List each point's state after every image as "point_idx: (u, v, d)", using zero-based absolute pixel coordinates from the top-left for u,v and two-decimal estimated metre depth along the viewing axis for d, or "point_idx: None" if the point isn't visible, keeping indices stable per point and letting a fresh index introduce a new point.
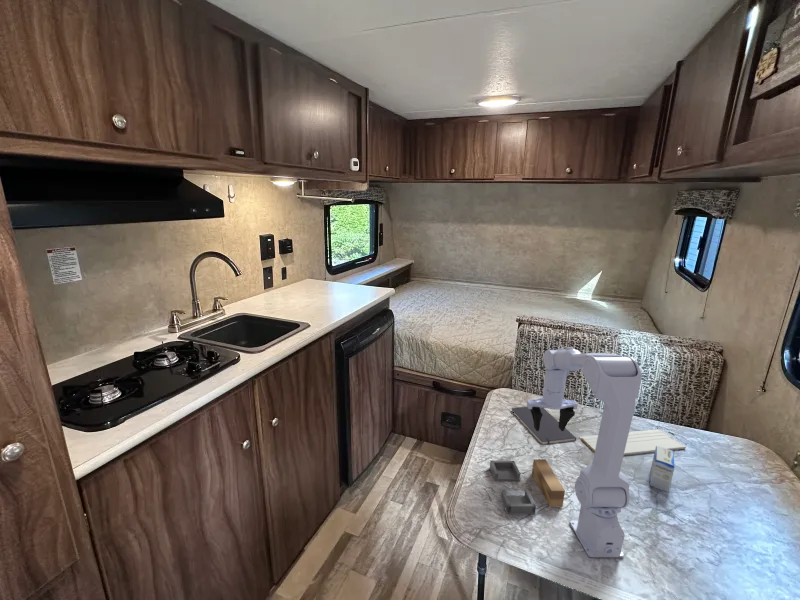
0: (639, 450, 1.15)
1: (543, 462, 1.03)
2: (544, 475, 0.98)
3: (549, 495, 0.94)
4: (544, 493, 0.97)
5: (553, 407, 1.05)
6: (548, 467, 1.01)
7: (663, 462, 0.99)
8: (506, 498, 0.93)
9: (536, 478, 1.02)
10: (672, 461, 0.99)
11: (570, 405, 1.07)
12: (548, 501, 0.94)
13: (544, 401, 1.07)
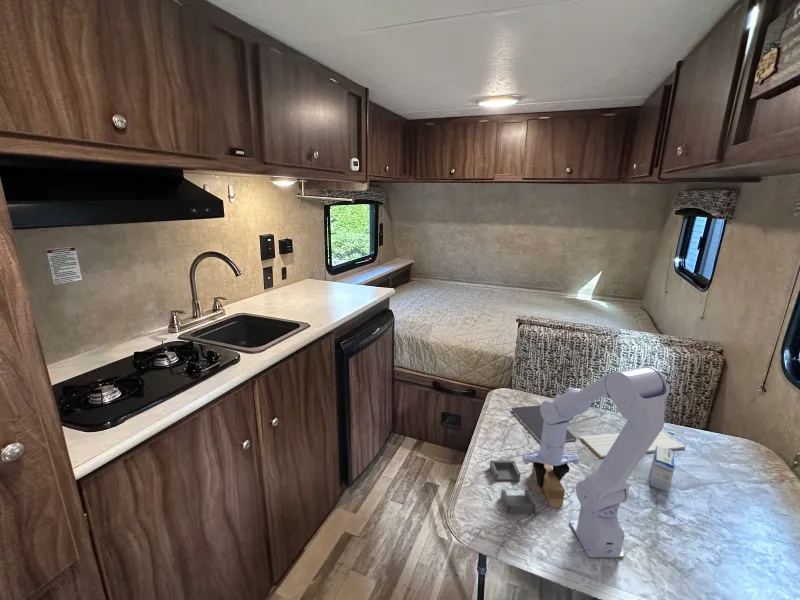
0: None
1: None
2: None
3: (549, 495, 0.94)
4: (544, 492, 0.97)
5: (552, 463, 0.94)
6: (548, 466, 1.01)
7: (663, 462, 0.99)
8: (506, 498, 0.93)
9: (536, 477, 1.02)
10: (672, 461, 0.99)
11: (571, 460, 0.96)
12: (548, 500, 0.94)
13: (542, 455, 0.96)
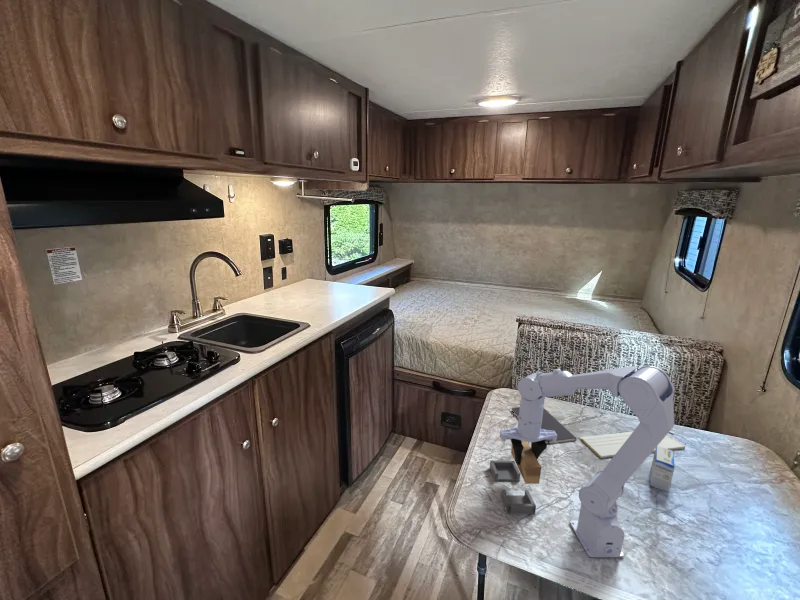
0: None
1: None
2: (522, 452, 0.96)
3: (526, 472, 0.92)
4: (521, 470, 0.95)
5: (529, 439, 0.93)
6: (526, 445, 0.99)
7: (663, 462, 0.99)
8: (506, 498, 0.93)
9: (514, 456, 1.01)
10: (672, 461, 0.99)
11: (548, 437, 0.94)
12: (525, 478, 0.93)
13: (519, 432, 0.95)
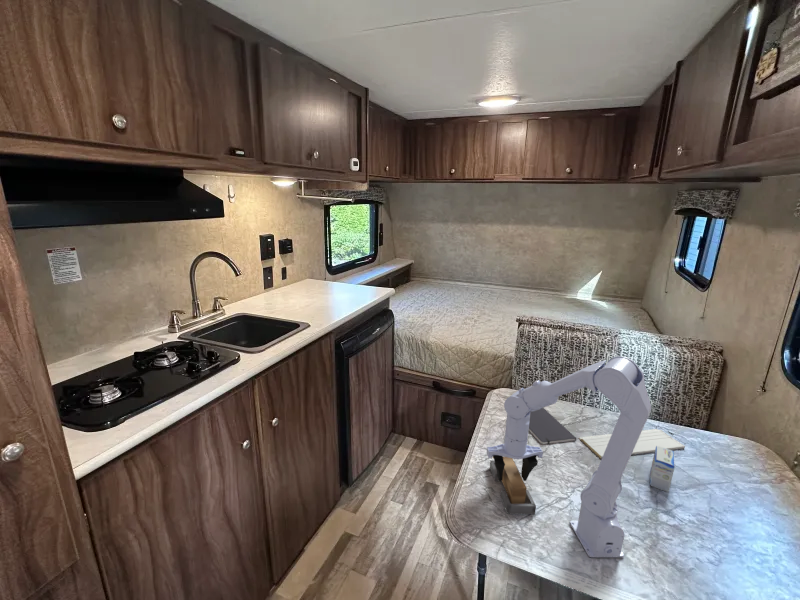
0: (638, 450, 1.15)
1: (508, 459, 1.03)
2: (508, 472, 0.98)
3: (511, 493, 0.93)
4: (507, 490, 0.97)
5: (514, 456, 0.94)
6: (513, 464, 1.01)
7: (663, 462, 0.99)
8: (506, 498, 0.93)
9: None
10: (672, 461, 0.99)
11: (534, 453, 0.95)
12: (510, 498, 0.94)
13: (505, 449, 0.96)
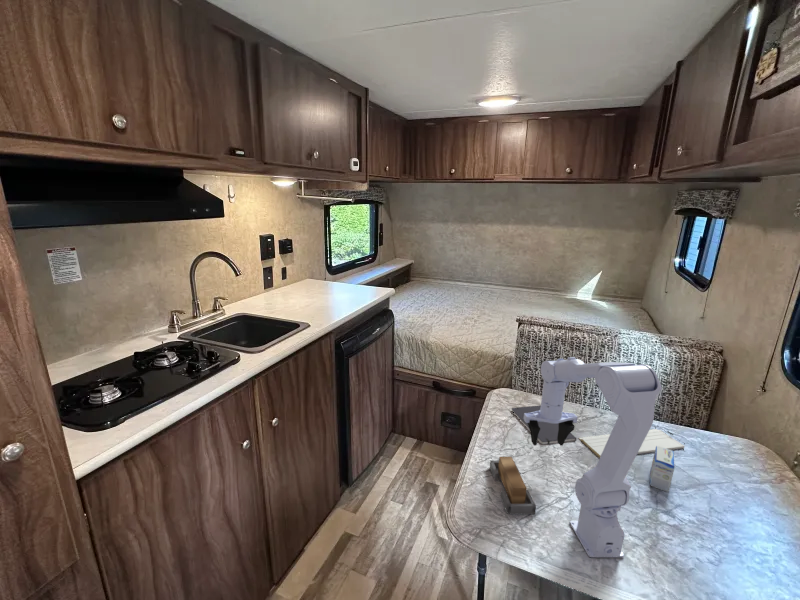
0: None
1: (508, 459, 1.03)
2: (508, 472, 0.98)
3: (511, 493, 0.93)
4: (507, 490, 0.97)
5: (551, 421, 0.99)
6: (513, 464, 1.01)
7: (663, 462, 0.99)
8: (506, 498, 0.93)
9: (501, 475, 1.02)
10: (672, 461, 0.99)
11: (569, 418, 1.01)
12: (510, 498, 0.94)
13: (542, 414, 1.01)
